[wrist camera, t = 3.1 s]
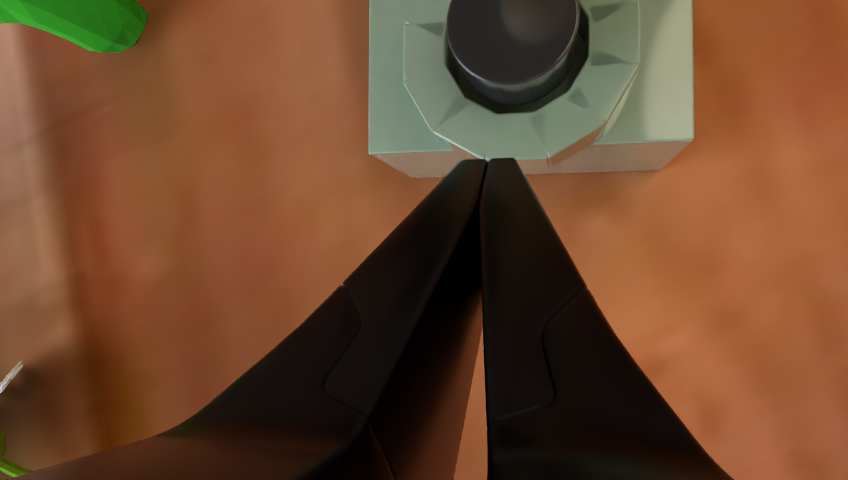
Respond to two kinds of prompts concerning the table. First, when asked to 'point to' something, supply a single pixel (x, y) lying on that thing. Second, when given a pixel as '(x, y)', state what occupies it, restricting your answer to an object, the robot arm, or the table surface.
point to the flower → (81, 20)
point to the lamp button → (513, 46)
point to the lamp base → (543, 119)
